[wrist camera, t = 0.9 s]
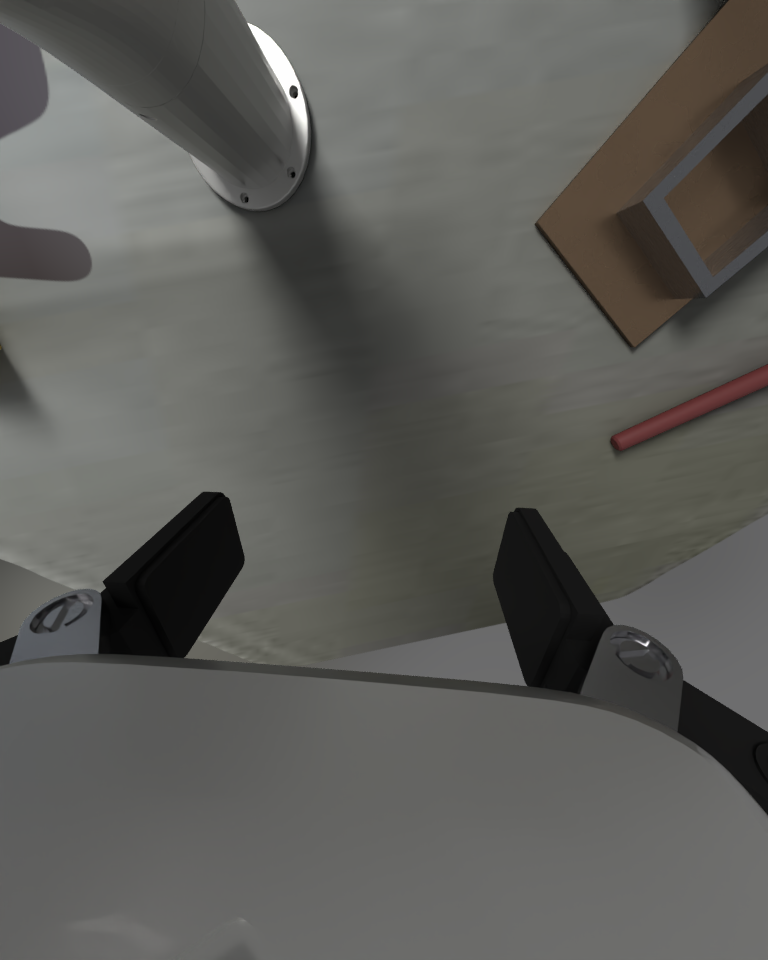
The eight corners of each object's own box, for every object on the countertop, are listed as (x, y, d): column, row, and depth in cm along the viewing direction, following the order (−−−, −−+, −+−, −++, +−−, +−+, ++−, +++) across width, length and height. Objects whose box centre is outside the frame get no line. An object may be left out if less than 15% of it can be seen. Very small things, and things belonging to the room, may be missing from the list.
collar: (534, 223, 32) (553, 210, 28) (779, -61, 24) (860, -141, 19) (630, 346, 37) (658, 351, 33) (864, 148, 28) (943, 119, 24)
